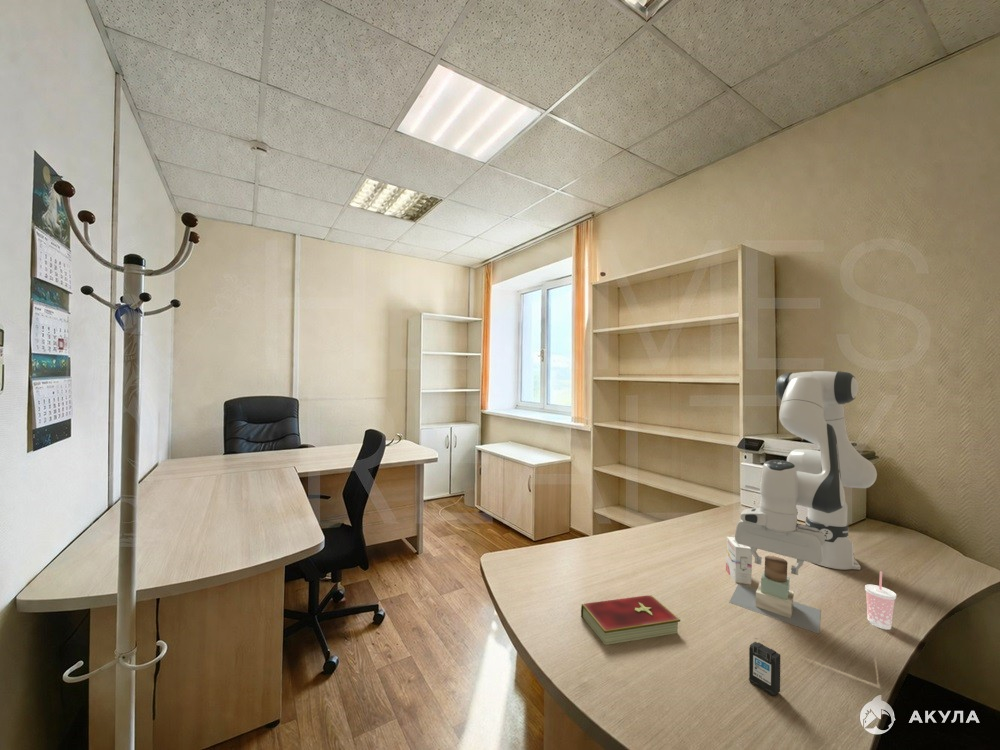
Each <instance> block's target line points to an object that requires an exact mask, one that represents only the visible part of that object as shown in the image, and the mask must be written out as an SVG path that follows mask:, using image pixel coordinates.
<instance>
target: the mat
mask: <svg viewBox="0 0 1000 750" xmlns="http://www.w3.org/2000/svg"><path fill="white" fill-rule="evenodd" d="M756 591H757V589H756V588H753V587H750V586H747V585H743V584H742V583H738V584H737V586H736V588H735V589H734V592H733V593H732V596H731V598H730V599H729V600H728V603H729V604H732V605H735V606H738V607H740V608H744V609H747V610H749V611H752V612H755V613H758V614H762V615H763V616H767V617H769V618H772V619H775V620H777V621H781V622H783V623H786V624H790V625H792V626H795V627H798V628H801V629H803V630H807V631H810V632H812V633H815V634H818V635H819V634H820V628H821V627H820V625H821V614H822V613H821V612H822V609H819V608H816V607H812V606H809V605H806V604H803V603H801V602H797V601H794V602H793V610H792V615H791V618H788V617H785V616H782V615H779V614H776V613H774V612H771V611H768V610H765V609H762V608H759V607H756Z"/></svg>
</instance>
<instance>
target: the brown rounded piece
mask: <svg viewBox="0 0 1000 750" xmlns="http://www.w3.org/2000/svg"><path fill="white" fill-rule="evenodd" d="M764 570H765V573H764V575H765V577H767V578H768V579H770V580H773V581H776V582H787V577H788V561H787V560H786V559H784V558H781V557H779V556H775V555H765V557H764Z"/></svg>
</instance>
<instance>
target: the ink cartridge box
mask: <svg viewBox="0 0 1000 750" xmlns="http://www.w3.org/2000/svg"><path fill="white" fill-rule="evenodd" d="M752 567H753V554H752V552H751V547H749V546H745V545H741V544H738V543H737V542H736V540H735V536H726V560H725V570H726V572H727V574H728V575H729V576H730V577H731V579H732V580H733V582H734V583H738V584H746V585H752V571H753V569H752Z"/></svg>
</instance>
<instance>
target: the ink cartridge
mask: <svg viewBox="0 0 1000 750" xmlns="http://www.w3.org/2000/svg"><path fill="white" fill-rule="evenodd" d="M748 651H749V653H748V655H749V659H748V661H749V662H748V663H749V664H748V668H749V670H748V673H749V674H748V675H749V676H748V680H749V683H750V684H752V685H754V686H756V687H757V688H759V689H760V690H762V691H763V692H766V693H767V695H768V694H769V695H770V696H772V697H775V696H776V695H777V694H779V693H780V692H781V654H779V653H778V652H777V651H775V650H774V649H772V648H770V647H769V646H768V647H767V646H766V645H764V644H763V643H761V642H759V641H758V642H757V641H754V642H752V643H751V644H749V647H748Z"/></svg>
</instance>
